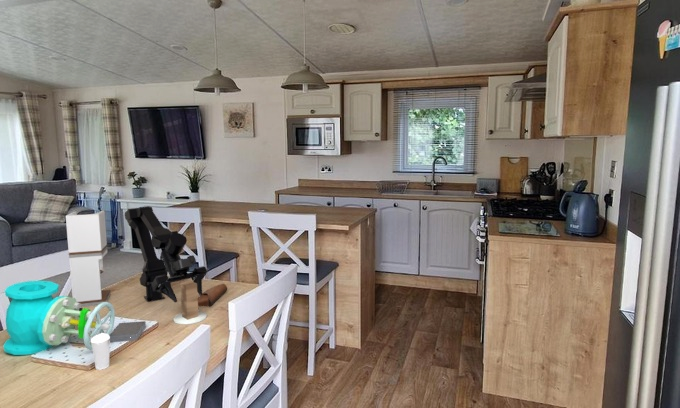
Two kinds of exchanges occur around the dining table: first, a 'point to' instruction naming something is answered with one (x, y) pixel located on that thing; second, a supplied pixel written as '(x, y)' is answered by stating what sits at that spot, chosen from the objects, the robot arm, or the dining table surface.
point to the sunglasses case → (211, 295)
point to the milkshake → (101, 350)
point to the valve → (48, 318)
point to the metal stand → (127, 331)
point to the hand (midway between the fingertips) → (189, 298)
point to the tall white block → (87, 256)
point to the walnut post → (189, 300)
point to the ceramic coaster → (182, 320)
